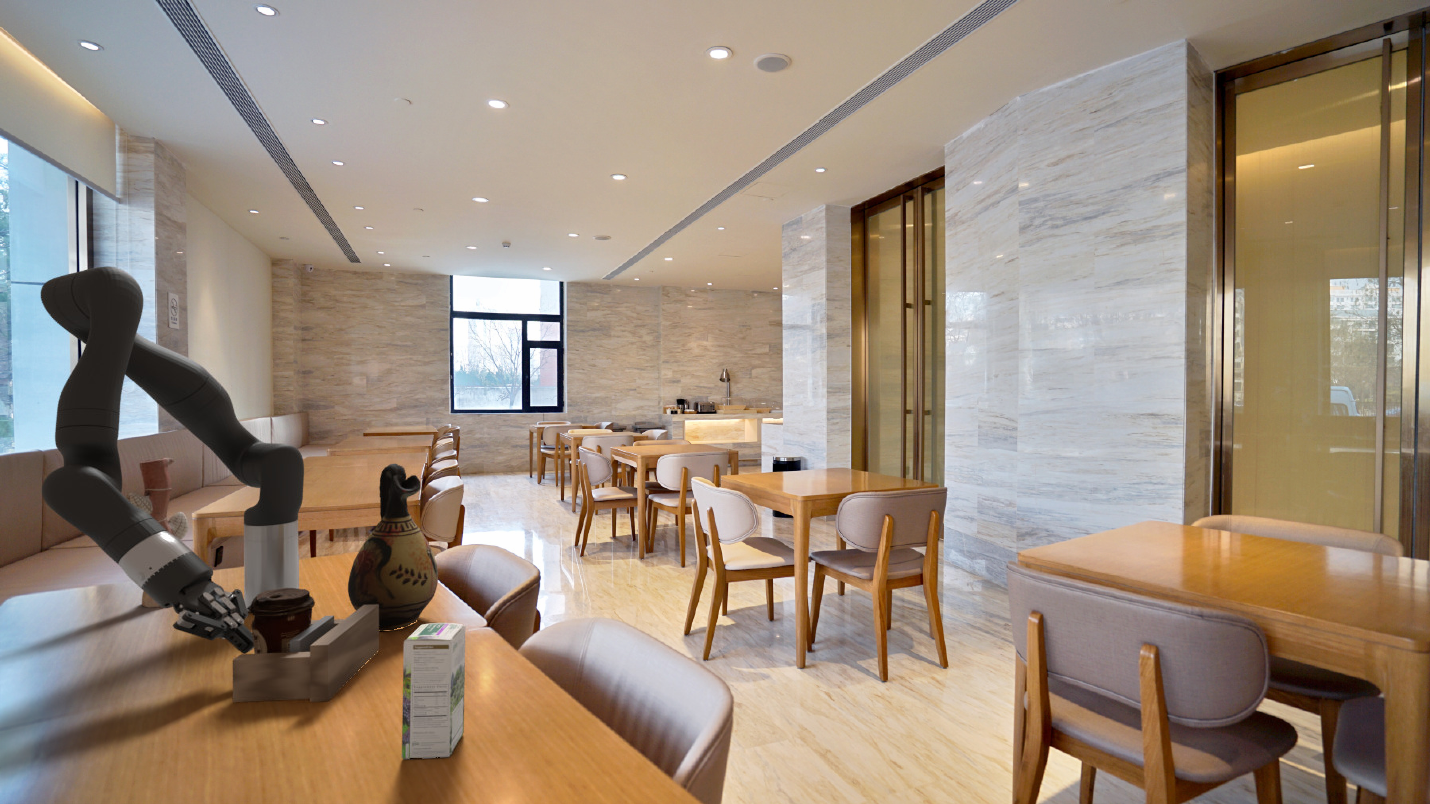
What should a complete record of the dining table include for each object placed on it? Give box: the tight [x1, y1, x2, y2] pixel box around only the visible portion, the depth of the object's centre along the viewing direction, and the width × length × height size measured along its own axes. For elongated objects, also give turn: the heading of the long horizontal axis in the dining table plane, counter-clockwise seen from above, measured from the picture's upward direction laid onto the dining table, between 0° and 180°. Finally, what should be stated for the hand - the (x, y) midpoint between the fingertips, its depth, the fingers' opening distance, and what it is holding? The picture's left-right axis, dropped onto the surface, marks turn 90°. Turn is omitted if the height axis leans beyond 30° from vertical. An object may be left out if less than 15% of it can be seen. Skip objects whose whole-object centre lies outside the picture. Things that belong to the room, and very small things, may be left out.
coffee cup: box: [247, 588, 316, 654], centre depth 101 cm, size 9×8×13 cm
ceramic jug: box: [347, 463, 439, 630], centre depth 126 cm, size 17×15×30 cm
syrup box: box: [401, 622, 466, 760], centre depth 82 cm, size 6×6×14 cm
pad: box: [290, 615, 335, 652], centre depth 102 cm, size 1×11×7 cm, turn 6°
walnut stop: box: [232, 604, 380, 703], centre depth 102 cm, size 13×18×8 cm
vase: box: [125, 457, 189, 608], centre depth 136 cm, size 11×7×30 cm
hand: (252, 647), depth 101 cm, fingers closed
